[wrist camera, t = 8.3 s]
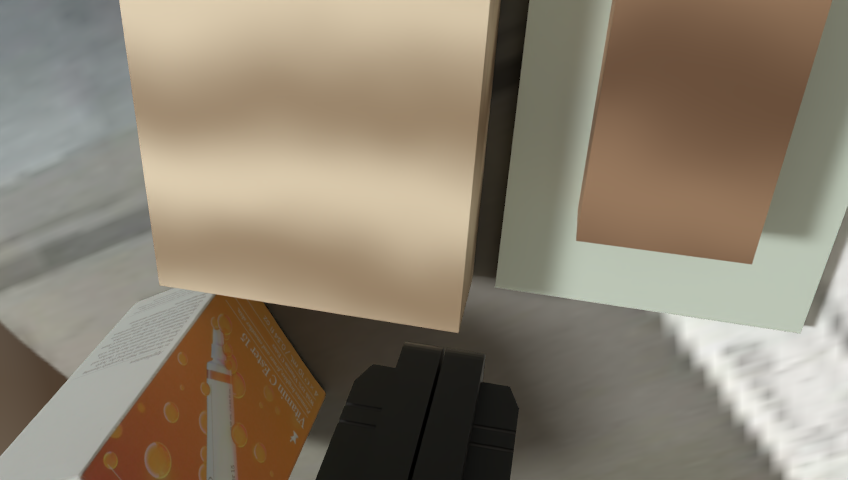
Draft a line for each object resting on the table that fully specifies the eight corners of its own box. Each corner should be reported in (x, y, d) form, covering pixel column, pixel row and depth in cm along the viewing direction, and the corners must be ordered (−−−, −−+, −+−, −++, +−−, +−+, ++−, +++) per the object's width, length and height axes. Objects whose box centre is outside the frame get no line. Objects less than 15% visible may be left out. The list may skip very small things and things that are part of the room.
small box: (330, 392, 38) (221, 644, 27) (227, 422, 41) (88, 664, 30) (239, 257, 35) (76, 479, 24) (134, 297, 38) (-59, 516, 27)
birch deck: (155, -208, 26) (90, -205, 23) (519, -182, 25) (506, -174, 21) (202, 235, 35) (159, 285, 32) (472, 276, 34) (458, 333, 30)
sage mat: (552, -180, 25) (550, -179, 24) (970, -150, 23) (979, -149, 22) (496, 279, 33) (494, 287, 33) (797, 324, 32) (800, 333, 31)
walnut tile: (832, -1, 23) (813, -20, 25) (619, -19, 24) (618, -36, 26) (752, 264, 28) (741, 230, 30) (576, 241, 28) (577, 209, 30)
